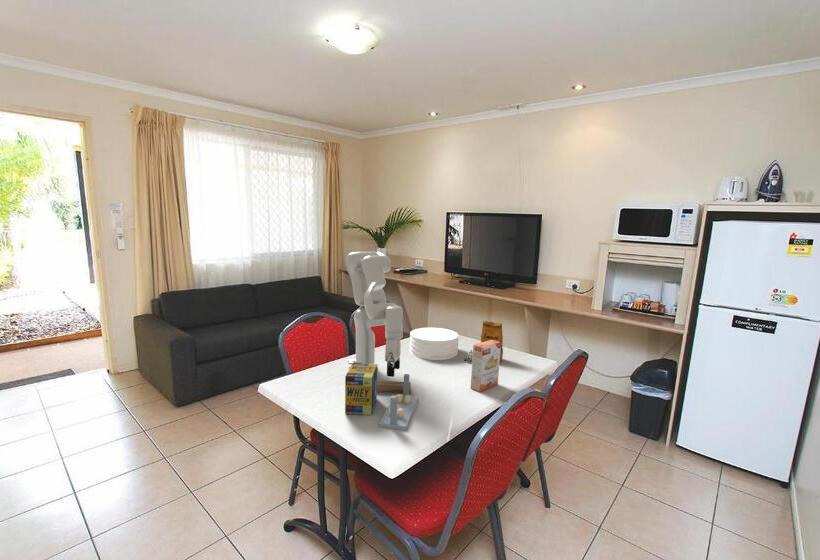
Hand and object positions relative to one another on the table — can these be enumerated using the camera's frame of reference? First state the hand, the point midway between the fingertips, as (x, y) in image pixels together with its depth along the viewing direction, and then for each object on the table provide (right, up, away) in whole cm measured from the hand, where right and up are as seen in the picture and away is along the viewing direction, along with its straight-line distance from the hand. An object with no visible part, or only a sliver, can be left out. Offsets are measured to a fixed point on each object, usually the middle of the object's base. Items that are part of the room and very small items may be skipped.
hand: (393, 372), depth 169 cm
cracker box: (+42, -9, +9) cm, 44 cm away
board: (-1, -9, +2) cm, 9 cm away
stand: (+3, -12, -18) cm, 22 cm away
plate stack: (+21, -2, +56) cm, 60 cm away
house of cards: (+42, -5, +42) cm, 59 cm away
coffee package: (+52, -4, +45) cm, 69 cm away
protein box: (-12, -11, -13) cm, 21 cm away
